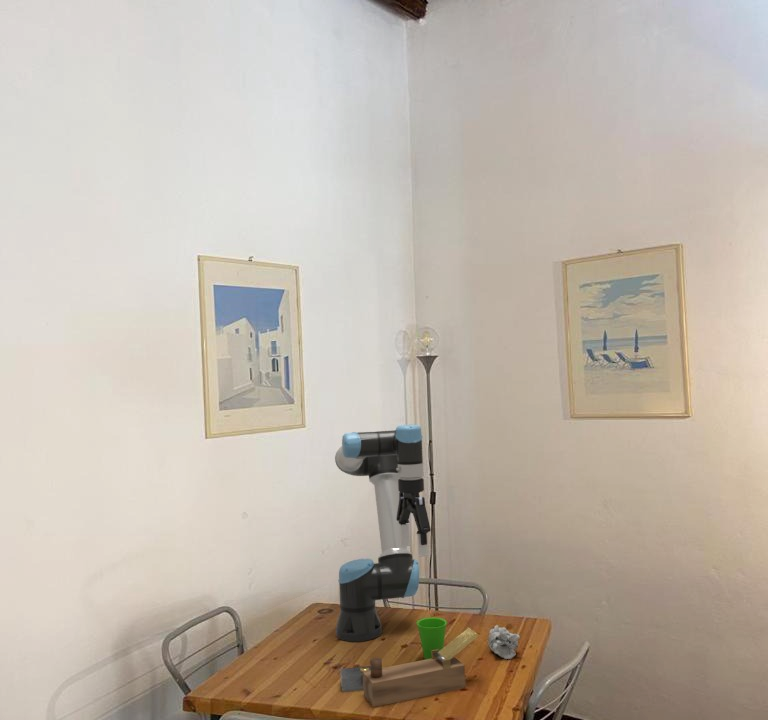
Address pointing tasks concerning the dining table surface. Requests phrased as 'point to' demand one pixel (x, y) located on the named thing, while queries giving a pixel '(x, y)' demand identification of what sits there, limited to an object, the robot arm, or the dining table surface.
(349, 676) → the lever cap
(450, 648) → the lever
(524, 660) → the dining table surface
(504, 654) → the figurine
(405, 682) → the plane body
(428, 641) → the cup
